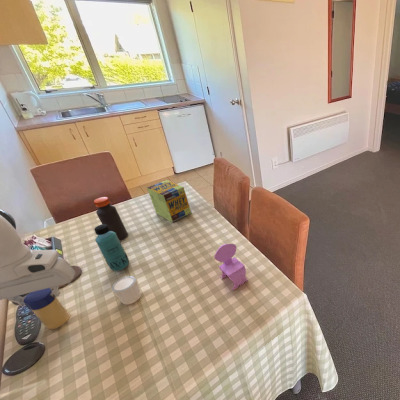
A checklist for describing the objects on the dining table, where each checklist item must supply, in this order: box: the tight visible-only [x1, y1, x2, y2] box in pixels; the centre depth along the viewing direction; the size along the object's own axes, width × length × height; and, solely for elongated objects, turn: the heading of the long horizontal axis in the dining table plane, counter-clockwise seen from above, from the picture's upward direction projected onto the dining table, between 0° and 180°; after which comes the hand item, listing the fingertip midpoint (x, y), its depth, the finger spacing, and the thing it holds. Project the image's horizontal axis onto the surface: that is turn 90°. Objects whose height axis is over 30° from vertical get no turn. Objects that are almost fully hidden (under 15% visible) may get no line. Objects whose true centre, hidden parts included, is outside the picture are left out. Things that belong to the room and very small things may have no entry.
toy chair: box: [214, 243, 248, 291], centre depth 94 cm, size 8×9×15 cm
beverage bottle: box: [94, 223, 130, 272], centre depth 99 cm, size 6×7×20 cm
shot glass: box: [111, 275, 142, 306], centre depth 90 cm, size 7×7×7 cm
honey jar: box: [31, 297, 71, 330], centre depth 81 cm, size 6×6×12 cm
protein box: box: [146, 179, 192, 223], centre depth 134 cm, size 10×15×16 cm
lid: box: [23, 288, 56, 311], centre depth 79 cm, size 6×6×3 cm
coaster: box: [52, 265, 83, 290], centre depth 100 cm, size 12×12×1 cm
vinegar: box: [93, 196, 129, 242], centre depth 116 cm, size 7×7×20 cm
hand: (41, 299), depth 79 cm, fingers closed on lid, 6 cm apart
